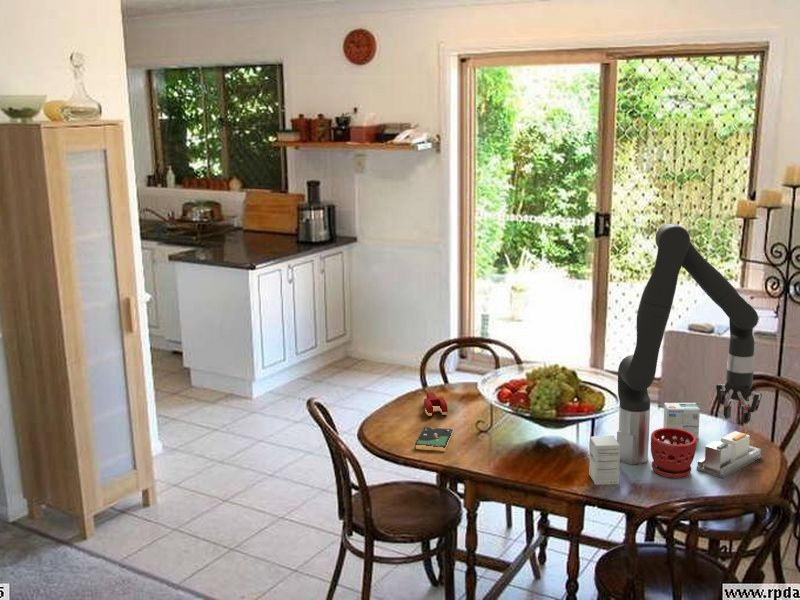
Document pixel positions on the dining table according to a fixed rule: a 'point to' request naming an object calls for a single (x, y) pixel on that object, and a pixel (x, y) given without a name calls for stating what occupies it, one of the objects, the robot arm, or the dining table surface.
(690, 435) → the plant pot
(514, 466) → the dining table surface
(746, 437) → the block
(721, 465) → the din rail
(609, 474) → the supplement box
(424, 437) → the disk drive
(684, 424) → the light bulb box
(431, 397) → the toy lobster
